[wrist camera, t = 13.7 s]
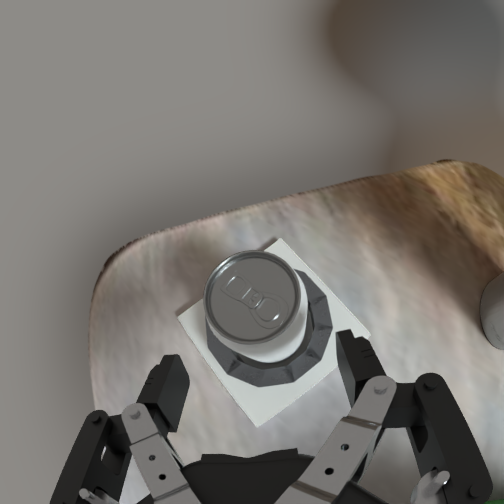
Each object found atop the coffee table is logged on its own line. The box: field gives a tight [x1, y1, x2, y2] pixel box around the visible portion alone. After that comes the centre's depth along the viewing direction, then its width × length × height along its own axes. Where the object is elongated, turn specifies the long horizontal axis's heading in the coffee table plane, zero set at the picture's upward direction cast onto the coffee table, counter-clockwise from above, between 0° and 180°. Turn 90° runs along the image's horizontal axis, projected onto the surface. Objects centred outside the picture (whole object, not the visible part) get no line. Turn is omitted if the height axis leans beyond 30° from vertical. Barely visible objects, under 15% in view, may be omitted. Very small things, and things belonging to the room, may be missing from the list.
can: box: [203, 250, 308, 363], centre depth 21 cm, size 6×6×12 cm
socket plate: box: [177, 238, 371, 427], centre depth 27 cm, size 14×14×1 cm
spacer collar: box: [205, 269, 333, 388], centre depth 25 cm, size 11×11×3 cm
